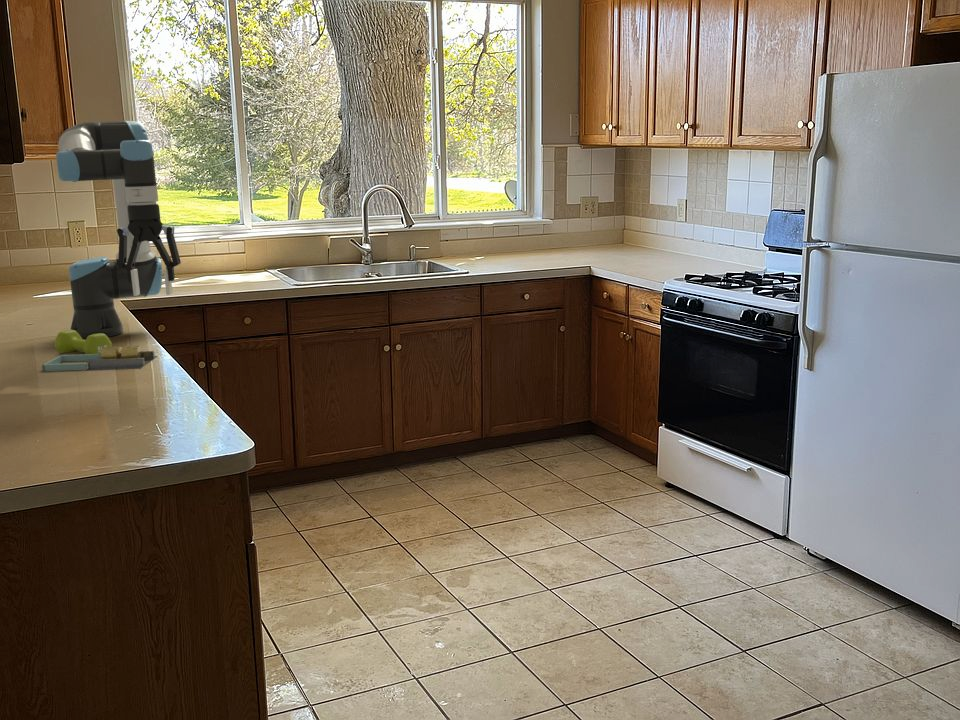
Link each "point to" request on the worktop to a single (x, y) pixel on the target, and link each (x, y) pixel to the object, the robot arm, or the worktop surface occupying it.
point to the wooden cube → (130, 352)
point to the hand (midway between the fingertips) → (153, 294)
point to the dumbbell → (81, 342)
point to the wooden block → (111, 353)
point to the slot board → (121, 362)
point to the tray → (55, 365)
